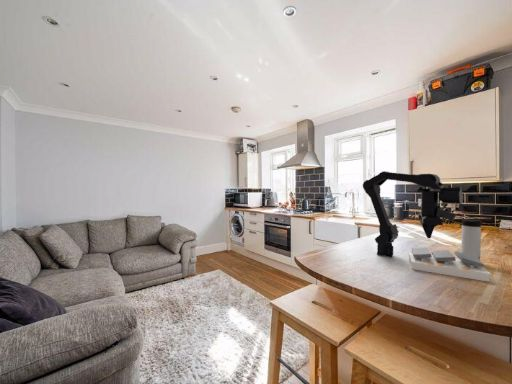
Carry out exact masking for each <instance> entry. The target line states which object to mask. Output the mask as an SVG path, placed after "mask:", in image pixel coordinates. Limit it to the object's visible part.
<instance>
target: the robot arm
mask: <svg viewBox="0 0 512 384" xmlns="http://www.w3.org/2000/svg"><path fill="white" fill-rule="evenodd" d="M388 180H389V181H396V182H397V181H399V182H404V183H412V184H415V185H418V186H419V188H417V189H416V190H415V192H416V193H421V198H420V199H421V200H420V201H421V202H420V203H421V204H420V212H419V213H418V214H417V219H418V220H419V223H420V225H421V227H422V229H423V232H424V234H425V236H426V239H431V238H432V234H433V232H434V229H435V228H436V227H437V226H444V221H443V219H442V218H444V219H446V220H448V221H450V222H454V220H455V218H456V216H457V214H456V213H454V212H451V209H449V208H445V207H444V208H443V209H442V208H441V206H440V205H439V201H440V202H442V204H452V205H453V204H455V205H462V204H463V203H464V202H463V201H464V195H463V191H462V187H461V186H459V187H458V186H454V187H446V186H445V185H444V184H443V183H442V182H441V178H440V177H439V176H438V174H434V173H420V174H419V173H418V174H410V173H408V174H407V173H399V172H391V171H385V170H384V171H381V172H380V173H378V174H377V175H375V176H372V177H371V178H369V179H366V180H364V182H363V183H362V188H363V190H364V192H365V193H366V195H367V196H368V197H369V198H370V201H371V203H372V206H373V210H374V212H375V214H376V218H377V220H378V224H379V228H378V231H379V235H378V236H376V237H375V238H374V241H375V243H376V244H377V245H376V247H377V250H376V251H377V252H376V255H377V256H382V257H389V258H393V256H394V245H393V243H394V242H395V240H396V239H397V238H399V233H400V231H399V230H398V226H397V224H396V223H394V224H393V223H392V222H391V221H390V219H389V218H390V217H389V215H388V213H387V210H386V208H385V207H386V206H385V205H384V202H383V200H382V197H381V186H382V185H384V184H385V182H387V181H388Z"/></svg>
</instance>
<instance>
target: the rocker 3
mask: <svg viewBox="0 0 512 384" xmlns="http://www.w3.org/2000/svg"><path fill="white" fill-rule="evenodd" d="M453 255H454V256H455V257H456V258H457V259H460V260H461V261H462V262H465V263H469V264H472V265H475V266H479V267H482V268H484V264H485V263H483V262H482V261H481V260H480V261H479V260H478V259H477V258H475V257H474V256H471V255H468V254H464V253H461V251H457V250H455V251H454V254H453Z"/></svg>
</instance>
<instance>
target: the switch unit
mask: <svg viewBox="0 0 512 384" xmlns="http://www.w3.org/2000/svg"><path fill="white" fill-rule="evenodd" d="M431 256H432V257H427V258H414V256H413V253H412V252H408V261H409V264H410V267H411V269H412V270H417V271H421V272H427V273H429V272H430V273H433V274H441V275H447V276H452V277H459V278H466V279H471V280H478V281H481V282H482V281H484V282H491V273H490V272H489V271H487V269H485V268H484V267H483V268H482V267H479V266H475V265H472V264H469V263H465V262H462V261H461V260H460V259H459V258H455V259H456V261H436V259H435V258H434V256H433V255H431Z"/></svg>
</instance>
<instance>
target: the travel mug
mask: <svg viewBox="0 0 512 384" xmlns="http://www.w3.org/2000/svg"><path fill="white" fill-rule="evenodd" d="M460 241H461V243H460V244H461V245H460V253H464V254H468V255H471V256H474V257H475V258H477V259H478V260H479V261H480V262H481V251H482V250H481V248H482V245H481V244H482V219H481V218H464V219H462V220H461V240H460Z"/></svg>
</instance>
